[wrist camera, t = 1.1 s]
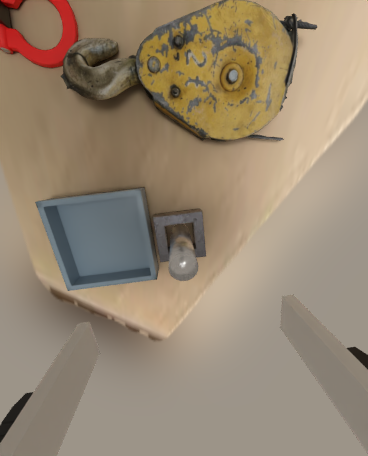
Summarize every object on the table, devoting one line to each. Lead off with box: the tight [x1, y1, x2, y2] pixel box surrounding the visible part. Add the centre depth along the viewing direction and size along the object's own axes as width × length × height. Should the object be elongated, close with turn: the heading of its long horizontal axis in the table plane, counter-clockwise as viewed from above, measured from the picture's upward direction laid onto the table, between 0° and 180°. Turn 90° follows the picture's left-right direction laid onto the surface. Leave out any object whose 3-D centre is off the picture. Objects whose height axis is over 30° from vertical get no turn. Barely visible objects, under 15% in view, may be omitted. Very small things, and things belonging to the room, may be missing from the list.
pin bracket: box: [153, 209, 206, 262], centre depth 29 cm, size 8×8×2 cm
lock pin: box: [169, 224, 198, 281], centre depth 25 cm, size 3×3×12 cm
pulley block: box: [61, 0, 317, 141], centre depth 22 cm, size 14×6×30 cm
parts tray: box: [35, 187, 159, 291], centre depth 28 cm, size 15×15×4 cm
